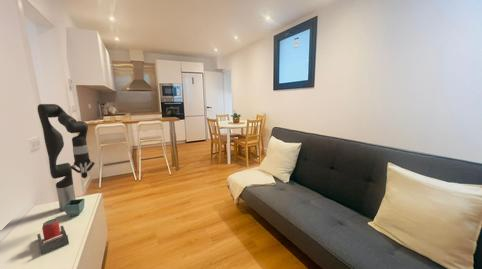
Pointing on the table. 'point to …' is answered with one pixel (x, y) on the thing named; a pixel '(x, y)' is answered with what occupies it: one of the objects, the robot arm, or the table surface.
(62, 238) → the lane
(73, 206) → the flower pot
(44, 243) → the pusher
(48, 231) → the beer can
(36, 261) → the table surface
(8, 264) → the table surface
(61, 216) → the table surface
